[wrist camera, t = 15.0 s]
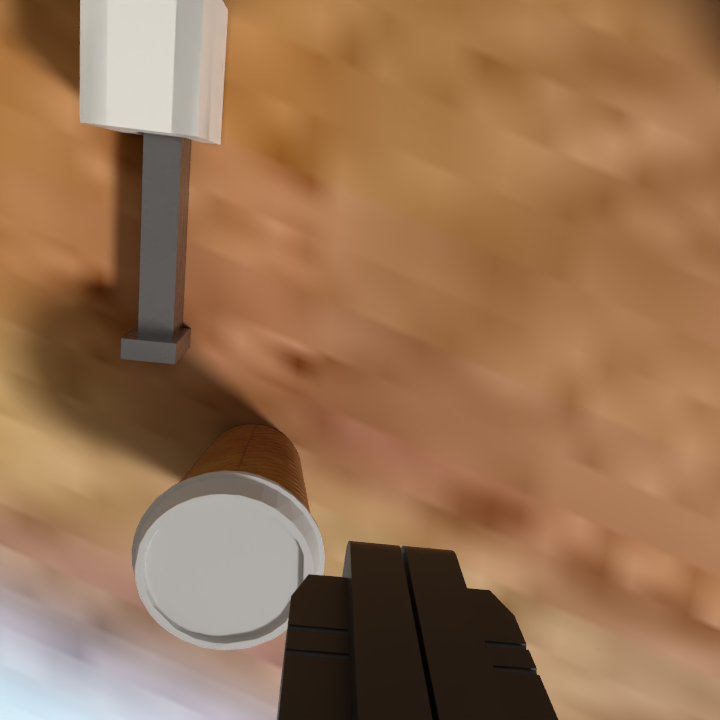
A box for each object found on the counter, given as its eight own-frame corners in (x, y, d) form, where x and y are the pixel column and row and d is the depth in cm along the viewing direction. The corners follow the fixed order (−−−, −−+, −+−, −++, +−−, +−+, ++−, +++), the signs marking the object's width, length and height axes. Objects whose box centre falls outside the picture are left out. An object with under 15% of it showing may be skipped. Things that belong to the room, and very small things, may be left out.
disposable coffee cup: (279, 556, 45) (261, 687, 33) (154, 490, 43) (89, 605, 31) (353, 445, 43) (362, 544, 31) (225, 372, 41) (184, 448, 29)
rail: (207, -13, 35) (192, -37, 31) (189, 346, 40) (175, 364, 37) (151, -21, 35) (129, -46, 31) (140, 342, 40) (120, 358, 36)
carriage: (228, 10, 35) (205, -29, 29) (220, 144, 37) (197, 136, 31) (126, -4, 35) (80, -47, 28) (124, 133, 37) (79, 122, 30)
